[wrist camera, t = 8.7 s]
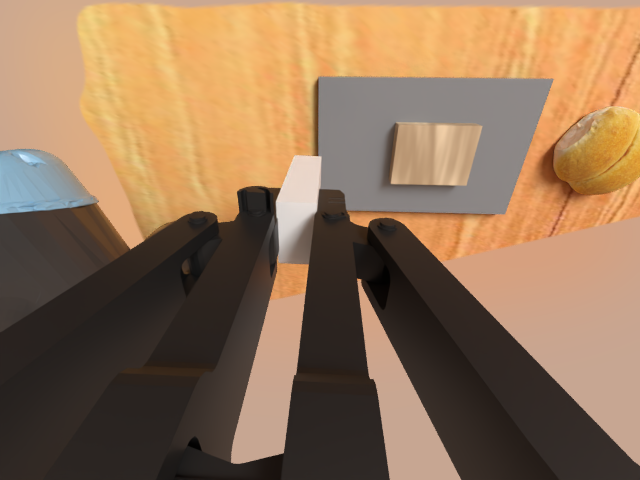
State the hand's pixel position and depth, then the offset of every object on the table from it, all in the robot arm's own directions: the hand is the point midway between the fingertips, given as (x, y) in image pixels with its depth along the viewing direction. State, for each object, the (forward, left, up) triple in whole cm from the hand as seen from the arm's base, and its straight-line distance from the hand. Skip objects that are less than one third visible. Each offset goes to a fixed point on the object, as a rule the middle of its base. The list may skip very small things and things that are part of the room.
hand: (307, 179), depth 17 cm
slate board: (+11, -2, -17) cm, 20 cm away
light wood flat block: (+8, -2, -15) cm, 17 cm away
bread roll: (+29, -2, -18) cm, 34 cm away
